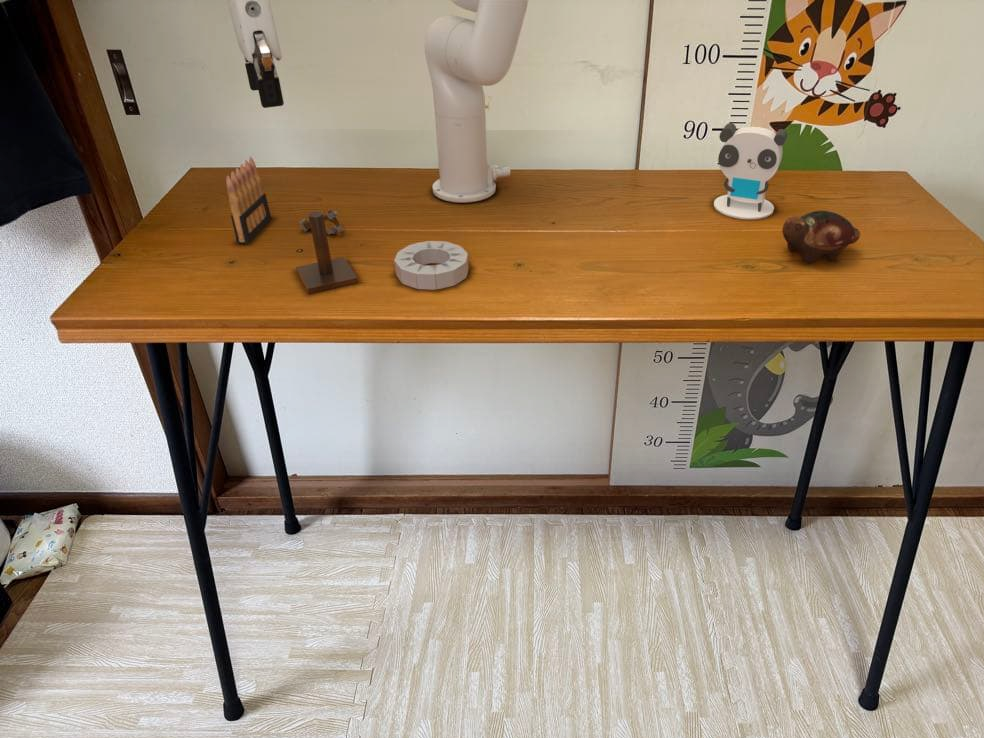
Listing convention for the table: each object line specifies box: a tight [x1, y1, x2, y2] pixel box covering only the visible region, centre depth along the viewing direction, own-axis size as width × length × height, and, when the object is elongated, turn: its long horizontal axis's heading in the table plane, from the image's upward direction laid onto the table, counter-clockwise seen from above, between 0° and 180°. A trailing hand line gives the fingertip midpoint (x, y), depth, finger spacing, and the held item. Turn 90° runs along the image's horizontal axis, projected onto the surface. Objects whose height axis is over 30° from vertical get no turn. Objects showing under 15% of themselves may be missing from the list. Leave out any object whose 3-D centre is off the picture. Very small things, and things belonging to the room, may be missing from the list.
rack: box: [295, 210, 359, 295], centre depth 122 cm, size 8×8×11 cm
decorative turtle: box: [781, 210, 861, 265], centre depth 130 cm, size 10×15×8 cm, turn 113°
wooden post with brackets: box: [299, 209, 345, 235], centre depth 137 cm, size 2×8×4 cm, turn 71°
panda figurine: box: [713, 122, 788, 220], centre depth 144 cm, size 12×11×15 cm
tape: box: [393, 240, 470, 291], centre depth 126 cm, size 12×12×3 cm
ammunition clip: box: [226, 156, 272, 245], centre depth 135 cm, size 11×2×12 cm, turn 172°
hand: (266, 97), depth 119 cm, fingers open, 9 cm apart
